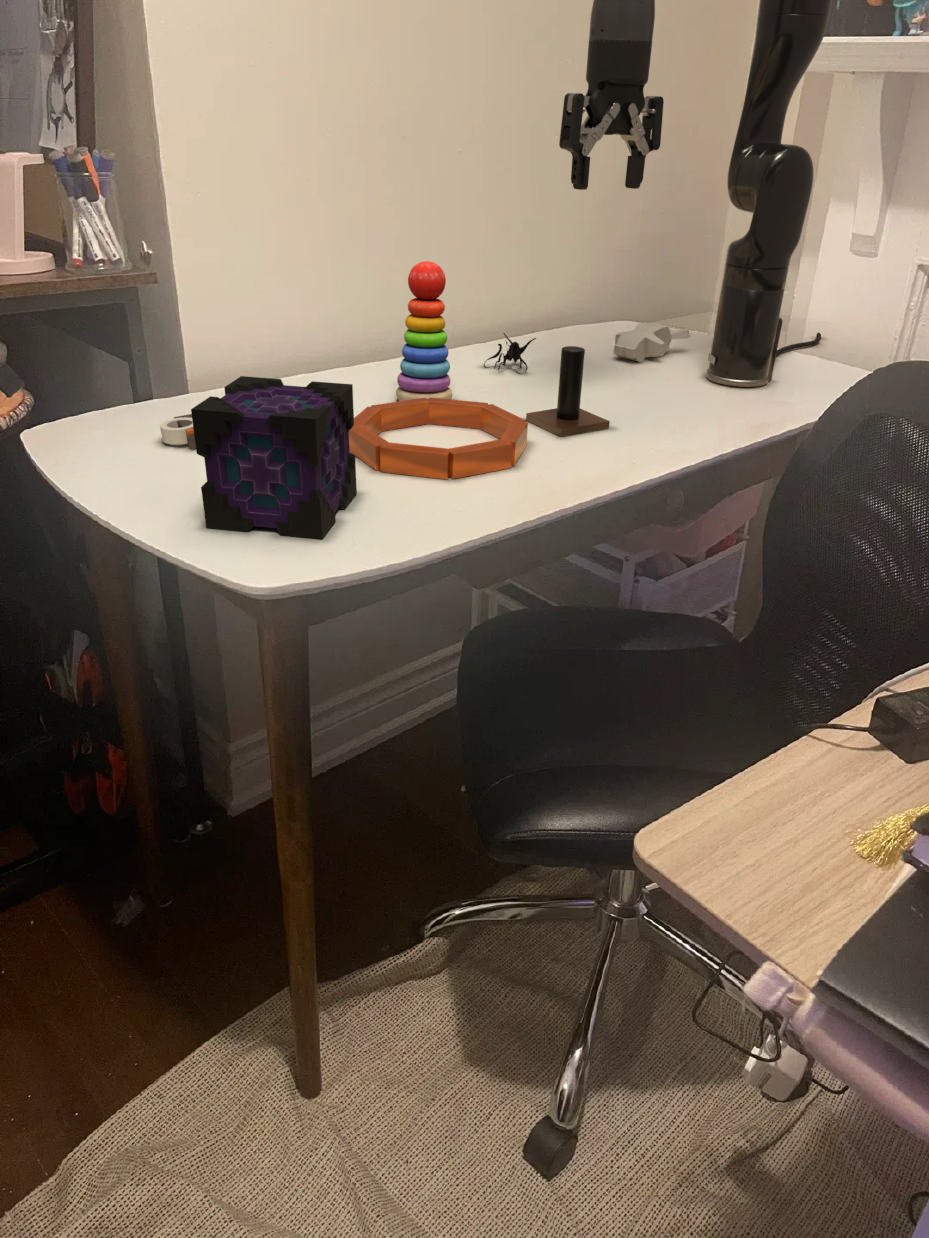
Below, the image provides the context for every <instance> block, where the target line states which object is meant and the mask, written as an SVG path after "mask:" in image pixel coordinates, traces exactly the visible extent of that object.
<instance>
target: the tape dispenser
mask: <svg viewBox="0 0 929 1238" xmlns="http://www.w3.org/2000/svg"><path fill="white" fill-rule="evenodd" d="M159 429H160V434H161V439H162V442H163V443H165V444H167V445H174V446H175V445H176V446H177V445H179V446H180V445H186V446H187V447H188V448H189V449H190V450H196V444H195V437H194V429H193V421H192V413H189V414H184V415H177V416H174V417H173V418H171V419H167V420H165V421H164V420H163V422H161V423H160V424H159Z"/></svg>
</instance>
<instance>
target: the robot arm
mask: <svg viewBox="0 0 929 1238" xmlns="http://www.w3.org/2000/svg"><path fill="white" fill-rule="evenodd" d="M758 1H759V2H758V8H757V16H756V23H755V33H754V41H753V48H752V54H751V59H750V65H749V71H748V76H747V83H746V89H745V95H744V100H743V105H742V108H741V109H742V110H741V114H740V119H739V123H738V127H737V130H736V135H735V139H734V144H733V146H732V152H731V156H730V160H729V165H728V171H727V178H726V187H727V194H728V198H729V201H730V203H731V204H732V206H733V207H734V208H735V209H737V210H739V211H741V212H745V213H750V214H752V215H751V216H752V217H751V221H750V224H749V228H748V230H747V232H746V233H745V234H744V235H743V236H741V237H740V238H738V239H735V240H732V241H731V242H730V243H729V244H728V246H727V248H726V249H727V250H726V254H725V260H724V268H723V273H722V280H721V287H720V293H719V300H718V306H717V313H716V317H715V318H716V319H715V325H714V330H713V337H712V344H711V348H710V349H711V350H710V353H708V358H707V361H708V362H709V363H708V368H707V370H706V378H707V379H708V380H709V381H711V382H714V383H717V384H720V385H723V386H730V387H738V388H755V387H761V386H765V385H766V384H768V383H769V382H771V381H772V378H773V373H774V369H775V363H776V357H777V356H778V355H780V354H782V353H785V352H788V351H790V350H794V349H800V348H805V347H810V346H814V345H817V344H819V342H820V341H821V339H822V333H821V332H817V333H816V337H815V339H814V340H810V341H804V342H796V343H793V344H788V345H786V346H783V347H780V348H779V342H780V337H781V332H782V327H783V318H781V317H780V315H781V310H782V305H783V301H784V294H785V288H786V283H787V278H788V273H789V267H790V263H791V260H792V259H791V258H792V256H793V254H794V252H795V251H796V249H797V247H798V245H799V242H800V240H801V236H802V233H803V228H804V224H805V219H806V216H807V213H808V207H809V204H810V200H811V196H812V191H813V186H814V185H813V184H814V163H813V159H812V157H811V155H810V153H809V152H808V151H807V150H806V149H805V148H804V147H802V146H800V145H797V144H788V143H782V138H783V132H784V127H785V121H786V116H787V112H788V110H789V109H788V108H789V106H790V102H791V100H792V97H793V95H794V93H795V91H796V89H797V87H798V85H799V83H800V82H801V80H802V78H803V76H804V75H805V73H806V72H807V70H808V68H809V66H810V65H811V63H812V62H813V59H814V58H815V56H816V54H817V52H818V50H819V49H820V46H821V44H822V42H823V40H824V38H825V35H826V31H827V29H828V24H829V20H830V15H831V11H832V9H831V8H832V4H833V0H758ZM592 2H593V3H592V6H591V12H590V19H589V32H588V46H587V47H588V48H587V57H586V58H587V61H586V71H585V81H586V83H587V91H586V93H585V94H583V93H580V92H579V93H578V92H577V93H576V92H567V93H566V94H565V95H564V98H563V105H562V106H563V107H562V115H561V124H560V133H559V148H560V149H562V150H565V151H567V152H569V153H570V154H571V157H572V160H571V171H570V182H571V184H572V187H573V189H574V190H581V191H583V190H584V191H586V190H587V189H588V187H589V177H590V167H591V156H589V155H590V153H591V152H592V150H593V149H594V147H595V145H596V144H597V142H599V141H600V140H602V138H603V136H604V135H605V136H613V135H615V136H620V138H621V140H623V141H624V142H625V145H626V147H627V150H628V151H629V154H630V155H628V156H627V161H626V171H625V179H624V180H625V181H624V187H625V188H626V189H633V190H634V189H635V190H636V189H639V188H640V187H641V184H642V183H643V180H644V174H645V166H646V165H645V164H646V158H647V156H648V154H649V153H651V152H653V151H659V149H660V147H661V141H662V140H661V139H662V129H663V127H662V126H663V116H664V115H663V114H664V102H665V101H664V98H663V96H658V95H650V96H649V95H647V96H645V94H644V88H645V86H646V84H647V83H648V81H649V75H650V67H651V56H652V47H653V39H654V29H655V19H656V0H593V1H592ZM585 112H586V114H587V116H586V117H585V119H584V121H583V115H584V113H585ZM640 115H642V117H641V118H640ZM820 333H821V334H820ZM778 348H779V349H778Z"/></svg>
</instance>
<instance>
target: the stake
mask: <svg viewBox="0 0 929 1238" xmlns="http://www.w3.org/2000/svg"><path fill="white" fill-rule="evenodd" d="M585 352H586V349H585V348H584V347H582V346H581V347H580V346H576V345H575V346H574V345H567V346H562V348H561V351H560V365H559V366H560V367H559V377H558V391H557V392H558V393H557V405H556V408H551V409H550V408H549V409H544V410H538V411H532V412H527V413H525V420H526V421H527V422H529V423H530V424H533V425H535V426H536V427H539V428H541V429H543V430H545V431H548V432H549V433H552V434H553V435H556V436H558V437H559V438H563V437H569V436H575V435H579V434H586V433H591V432H596V431H601V430H607V429H610V420H607V419H606V418H603V417H601V416H599V415H596V414H594V413H592V412H589V411H587V410H586V409H585V410H584V409H583V408H581V399H582V389H583V376H584V365H585V356H586V355H585V354H586V353H585Z"/></svg>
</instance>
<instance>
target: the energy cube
mask: <svg viewBox="0 0 929 1238" xmlns="http://www.w3.org/2000/svg"><path fill="white" fill-rule="evenodd" d="M353 387H354V386H353V383H341V382H328V381H327V382H325V381H315V380H314V381H313V380H311V381H310V382H309V383H308V384H307V385H306V386H299V385H287V384H285V385H284V383H283V381H282V378H272V377H258V376H244V375H243V376H242V375H241V376H239V377H238V378H236V379H234V380H233V381H232V382H230V383H228V384H227V385H225V386H224V395H223V396H221V397H218V396H209V397H207V398H206V399H204V400H202V401H201V402H199V403H198V404H197V405H195V406H194V407H192V408H191V409H190V414H192V421H193V429H194V437H195V444H196V449H195V450H196V451H195V452H196V455H198V456H200V457H202V458H203V460H204V466H205V475H206V481H205V482H204V483H203V484H202V486H201V487H200V490H201V499H202V505H203V514H204V520H205V528H206V529H213V530H222V531H234V532H242V533H243V532H244V533H249V531H250V530H252V529H253V528H254V527H259V528H267V529H268V528H269V529H276V530H277V532H278V534H279V536H283V537H292V538H293V537H294V538H303V539H304V538H305V539H312V540H313V539H315V540H324V539H325V537H326V535H327V534H329V532H330V531H331V529H332V528H333V526H334V525H335V524H336V523H337V519H336V514H335V513H336V511H338V509H339V510H346V509H347V508H348V506H349V505H350V504H351V503H352V501H353V500H354V498H355V497H356V496H357V493H358V492H357V491H358V489H357V467H356V466H357V465H356V456H355V455H353V454H352V453H351V452H350V450H349V430H350V429H351V428H352V427H353V426H354V418H355V415H354V413H355V412H354V411H355V410H354V392H353V391H354V390H353V389H354V388H353Z"/></svg>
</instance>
